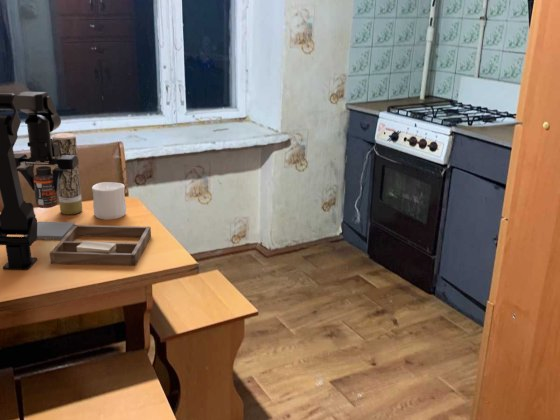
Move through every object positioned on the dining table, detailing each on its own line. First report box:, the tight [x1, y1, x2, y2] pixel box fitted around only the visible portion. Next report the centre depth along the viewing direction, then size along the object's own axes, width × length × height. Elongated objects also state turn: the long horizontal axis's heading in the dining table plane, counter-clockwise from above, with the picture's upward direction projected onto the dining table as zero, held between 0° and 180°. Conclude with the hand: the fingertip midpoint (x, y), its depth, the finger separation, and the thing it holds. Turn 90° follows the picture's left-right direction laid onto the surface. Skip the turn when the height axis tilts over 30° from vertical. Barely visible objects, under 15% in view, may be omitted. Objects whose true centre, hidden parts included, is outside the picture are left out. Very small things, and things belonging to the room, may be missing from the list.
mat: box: [23, 221, 76, 241], centre depth 174 cm, size 11×11×1 cm
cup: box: [91, 181, 127, 220], centre depth 188 cm, size 10×10×10 cm
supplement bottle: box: [33, 165, 59, 209], centre depth 170 cm, size 6×6×11 cm
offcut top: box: [77, 240, 116, 253], centre depth 157 cm, size 4×9×2 cm, turn 80°
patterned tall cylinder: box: [51, 132, 83, 215], centre depth 187 cm, size 7×7×25 cm
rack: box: [49, 224, 152, 267], centre depth 164 cm, size 20×22×3 cm
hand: (45, 190), depth 170 cm, fingers closed on supplement bottle, 6 cm apart
